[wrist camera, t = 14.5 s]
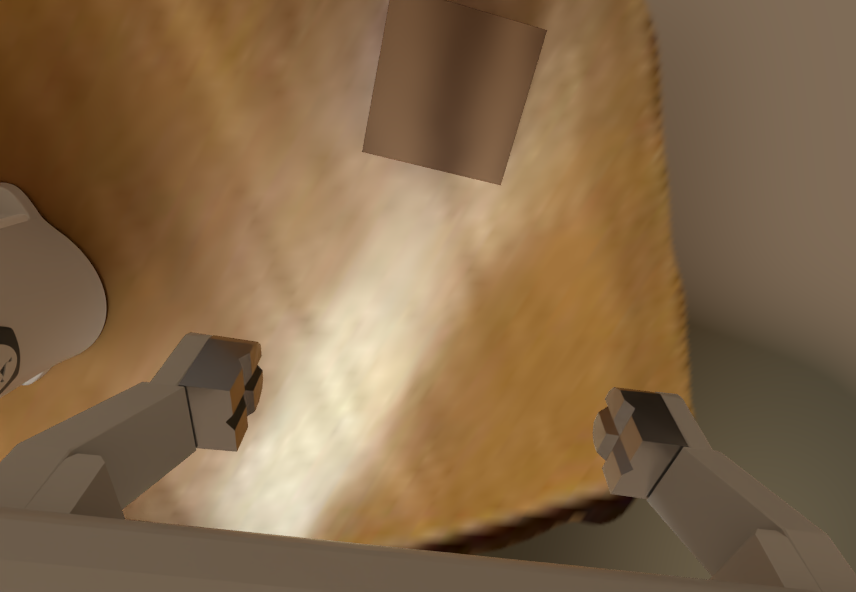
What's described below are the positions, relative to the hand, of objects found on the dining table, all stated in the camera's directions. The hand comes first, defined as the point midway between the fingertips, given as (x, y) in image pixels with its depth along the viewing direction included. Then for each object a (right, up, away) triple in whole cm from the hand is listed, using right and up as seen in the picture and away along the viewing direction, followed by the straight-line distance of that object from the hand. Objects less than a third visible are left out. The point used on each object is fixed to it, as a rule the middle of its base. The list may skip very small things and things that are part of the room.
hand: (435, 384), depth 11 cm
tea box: (+1, +18, +26) cm, 31 cm away
